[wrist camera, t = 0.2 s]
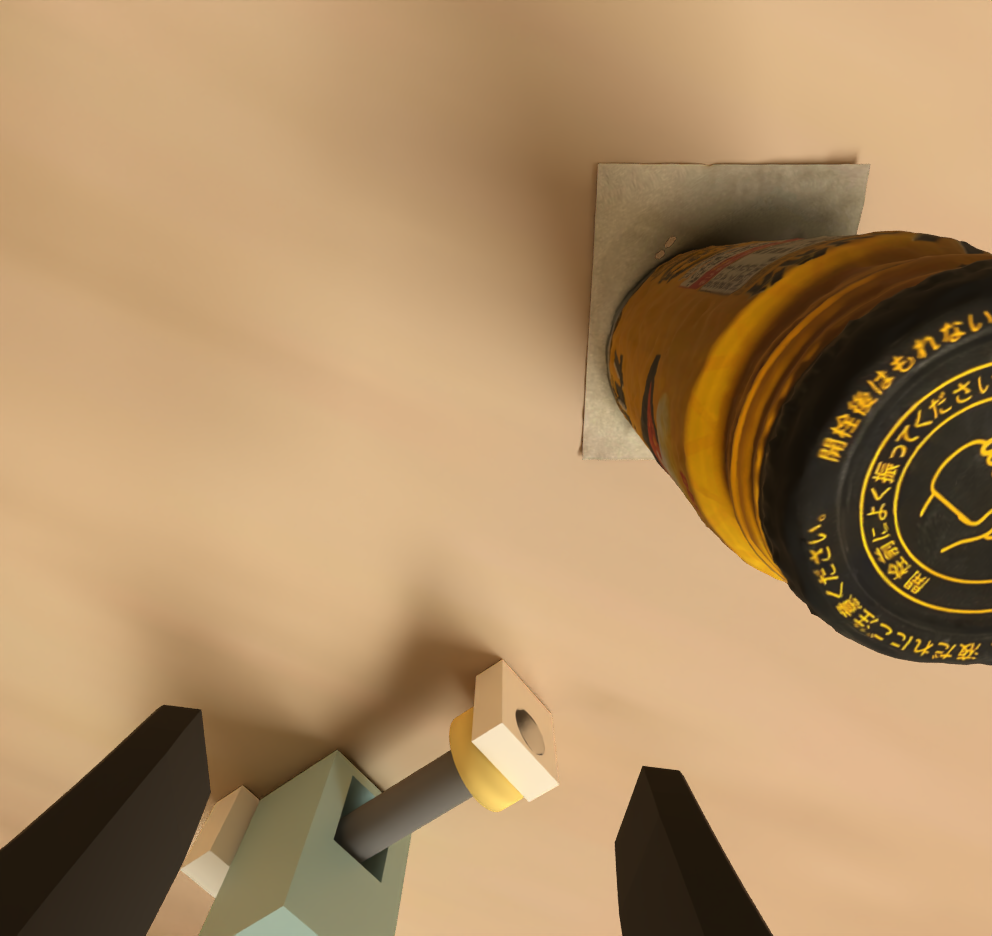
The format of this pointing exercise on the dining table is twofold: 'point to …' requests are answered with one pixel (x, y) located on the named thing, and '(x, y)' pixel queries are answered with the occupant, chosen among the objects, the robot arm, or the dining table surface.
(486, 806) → the rod
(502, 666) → the cream block
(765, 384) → the condiment
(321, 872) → the sage green block
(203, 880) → the cream rectangular block
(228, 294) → the dining table surface
